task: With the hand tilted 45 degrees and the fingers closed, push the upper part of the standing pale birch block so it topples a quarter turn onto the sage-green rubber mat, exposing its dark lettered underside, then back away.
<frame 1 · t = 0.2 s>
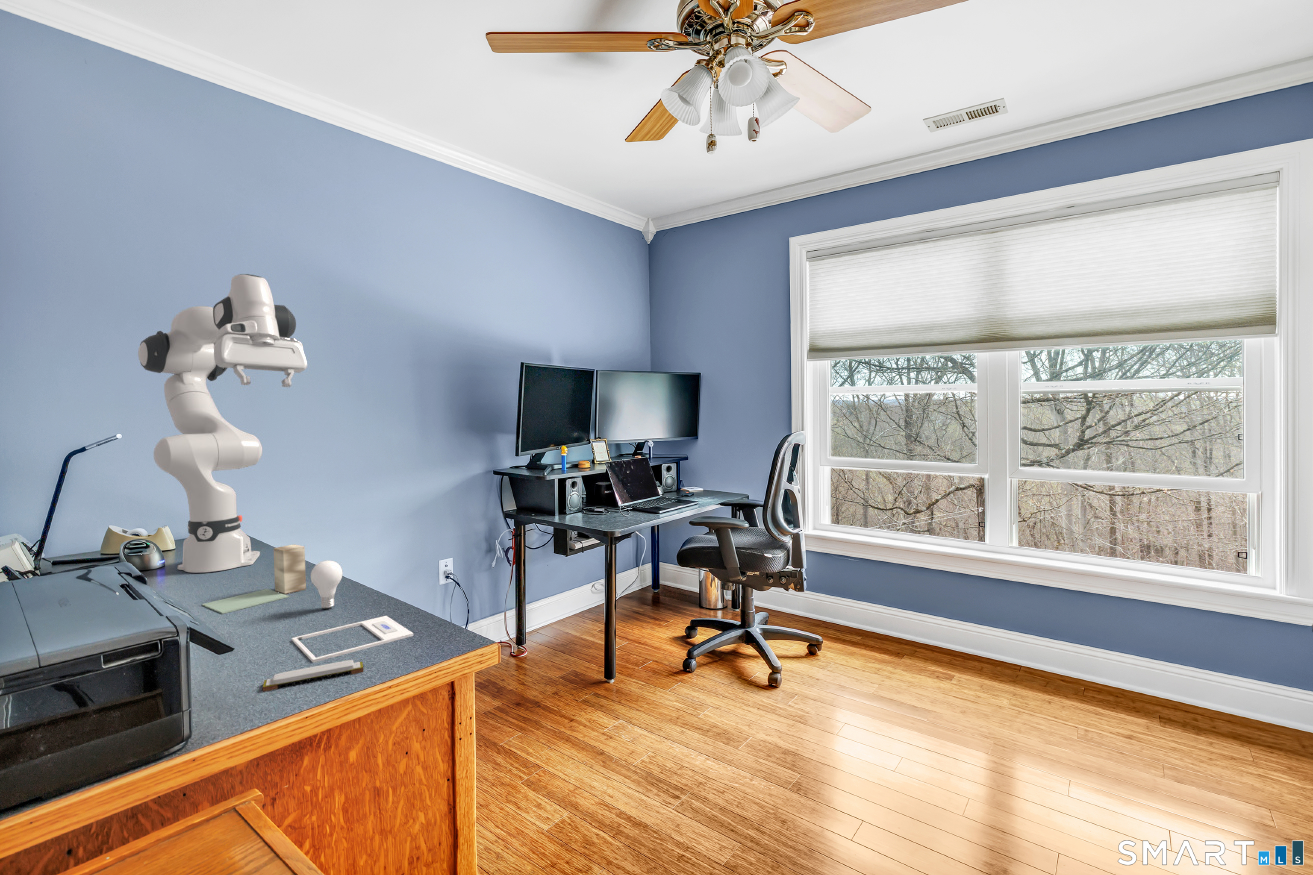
hand: (267, 385, 151), 52 cm above the table, tool tilted 20°, fingers open, 8 cm apart
mat: (246, 601, 143), on the table
harmonica: (315, 681, 101), on the table
lightbulb: (328, 609, 137), on the table
photo frame: (353, 641, 119), on the table
birch block: (290, 590, 151), on the table
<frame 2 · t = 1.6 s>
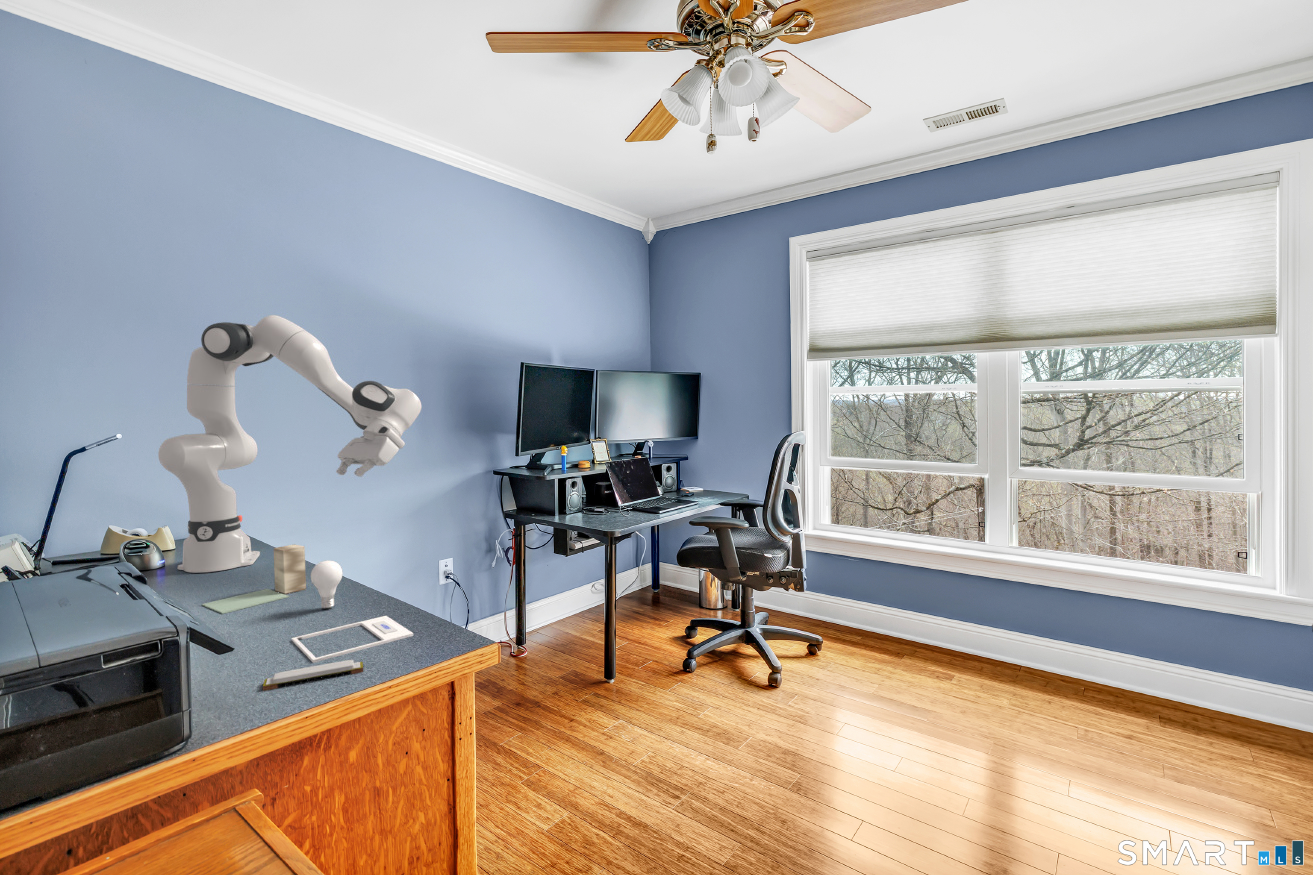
hand: (348, 474, 163), 28 cm above the table, tool tilted 45°, fingers open, 8 cm apart
nothing on the table moved.
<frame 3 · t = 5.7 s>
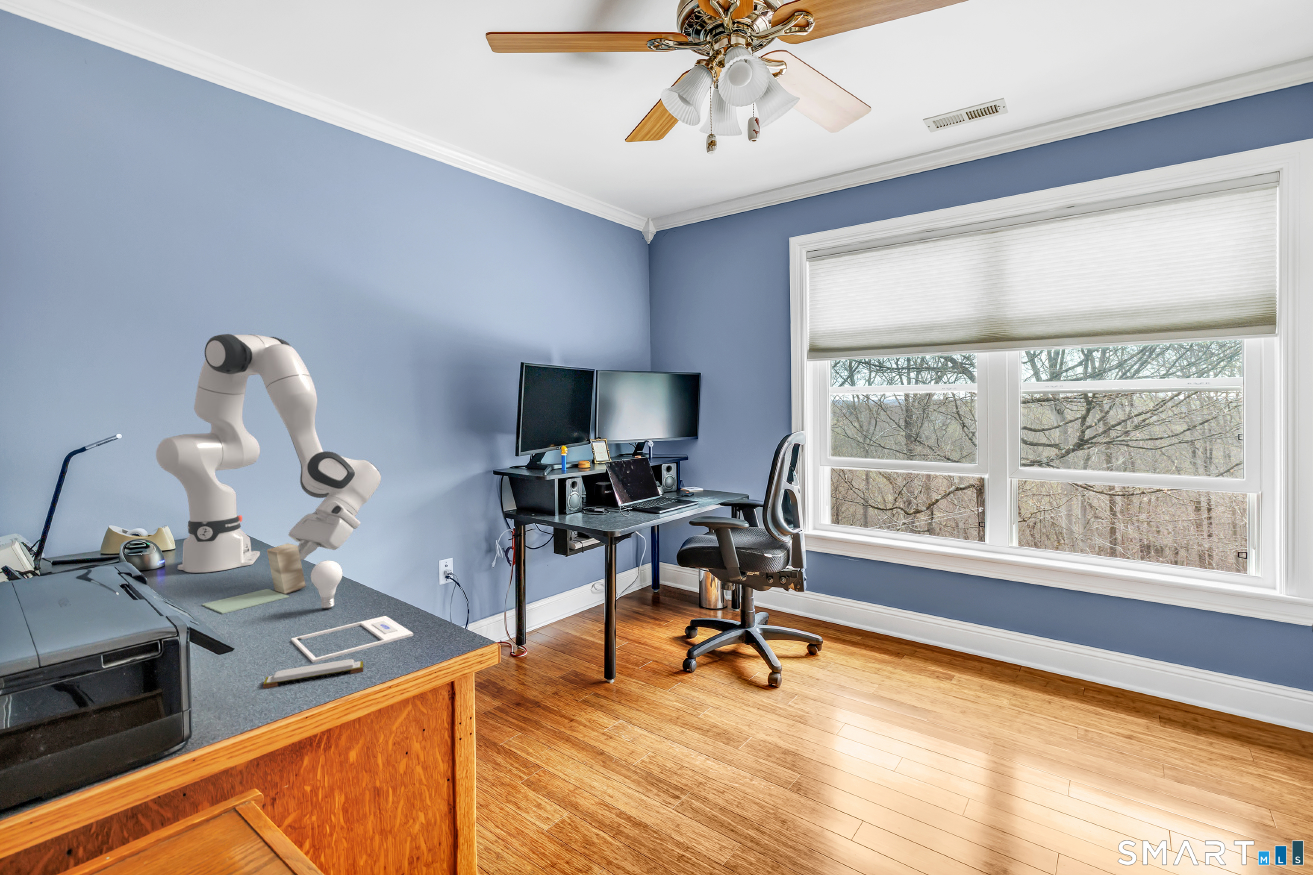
hand: (297, 557, 152), 8 cm above the table, tool tilted 45°, fingers closed
birch block: (290, 589, 151), on the table, tilted 8°
everything else where it was.
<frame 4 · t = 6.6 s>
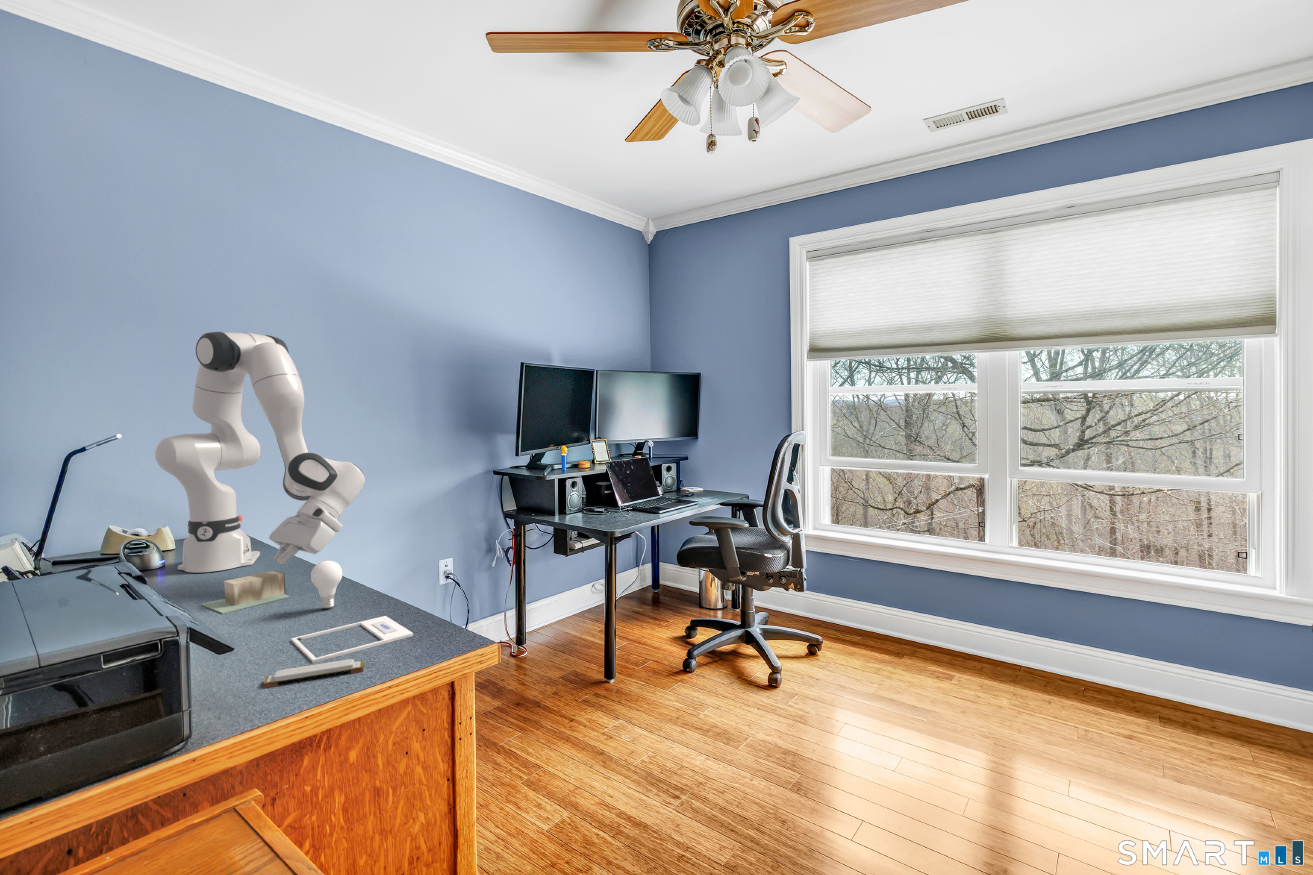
hand: (277, 561, 148), 8 cm above the table, tool tilted 45°, fingers closed
birch block: (280, 581, 149), point 3 cm above the table, tilted 90°, touching mat
everything else where it was.
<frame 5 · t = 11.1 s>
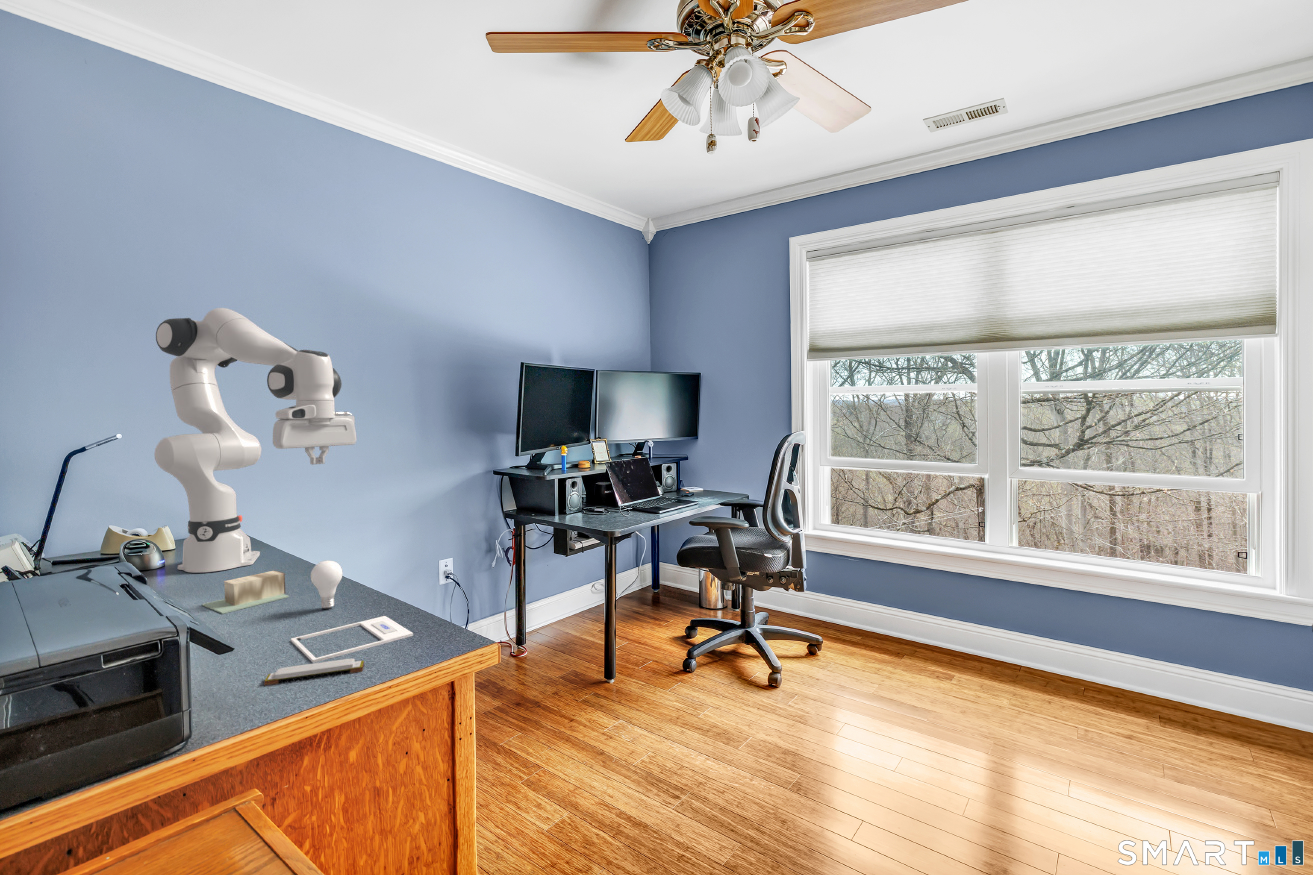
hand: (317, 464, 158), 31 cm above the table, tool pointing down, fingers closed
at the end: birch block tilted 90°; birch block inside the target area (6.5 cm from its centre), point 2.8 cm above the table; birch block touching mat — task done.
